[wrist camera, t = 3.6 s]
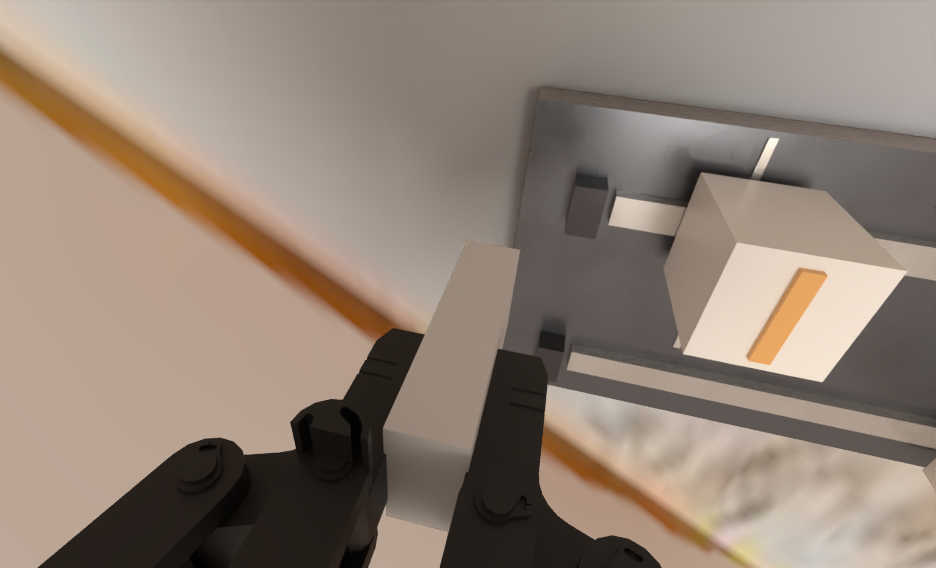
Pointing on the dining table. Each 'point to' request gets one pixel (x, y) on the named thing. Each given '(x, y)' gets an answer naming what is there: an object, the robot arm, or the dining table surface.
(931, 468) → the fader
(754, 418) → the console
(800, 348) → the fader
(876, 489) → the dining table surface
